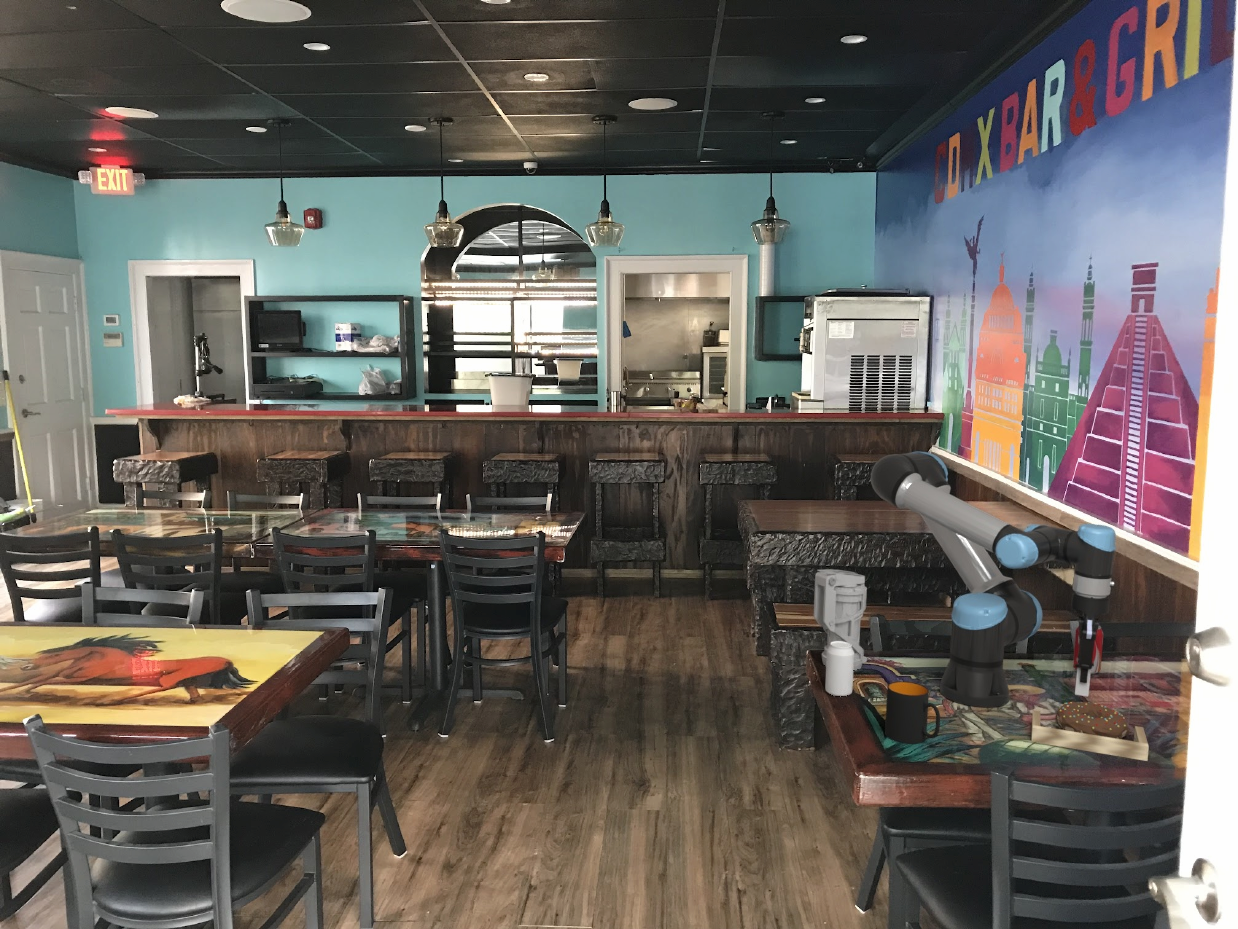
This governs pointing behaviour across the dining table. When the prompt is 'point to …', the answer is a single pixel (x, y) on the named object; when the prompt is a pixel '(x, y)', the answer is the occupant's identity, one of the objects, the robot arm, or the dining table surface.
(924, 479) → the robot arm
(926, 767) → the dining table surface
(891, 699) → the mug
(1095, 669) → the beverage can
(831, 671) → the beverage can
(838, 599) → the grey mechanical part
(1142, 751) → the oak rail
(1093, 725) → the donut
